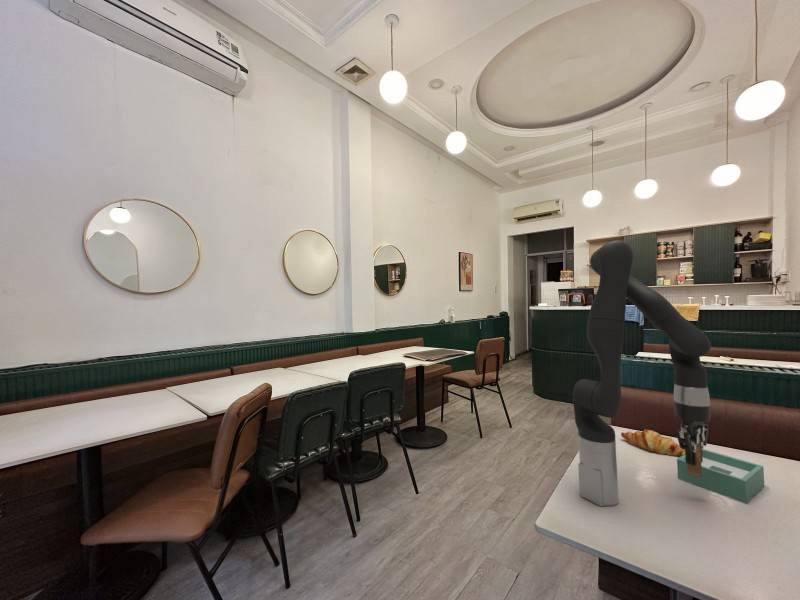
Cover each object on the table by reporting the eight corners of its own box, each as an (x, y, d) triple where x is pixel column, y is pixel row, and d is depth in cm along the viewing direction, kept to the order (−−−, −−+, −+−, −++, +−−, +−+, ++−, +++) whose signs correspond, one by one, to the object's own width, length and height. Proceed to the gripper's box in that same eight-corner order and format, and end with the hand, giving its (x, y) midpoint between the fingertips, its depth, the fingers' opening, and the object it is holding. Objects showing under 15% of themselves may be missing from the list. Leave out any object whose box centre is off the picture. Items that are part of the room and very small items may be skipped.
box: (746, 503, 86) (745, 481, 86) (678, 478, 99) (676, 459, 100) (764, 486, 93) (763, 466, 94) (698, 465, 107) (697, 447, 107)
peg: (698, 478, 87) (697, 441, 88) (685, 473, 90) (683, 437, 90) (703, 475, 89) (702, 439, 89) (690, 470, 91) (688, 435, 92)
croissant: (693, 466, 113) (695, 443, 115) (687, 461, 107) (689, 437, 110) (623, 445, 130) (626, 425, 132) (615, 440, 124) (618, 419, 126)
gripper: (696, 408, 83) (699, 475, 83) (720, 401, 90) (723, 463, 89) (662, 401, 90) (665, 463, 90) (686, 395, 96) (689, 452, 96)
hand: (694, 462), depth 89 cm, fingers closed on peg, 3 cm apart
